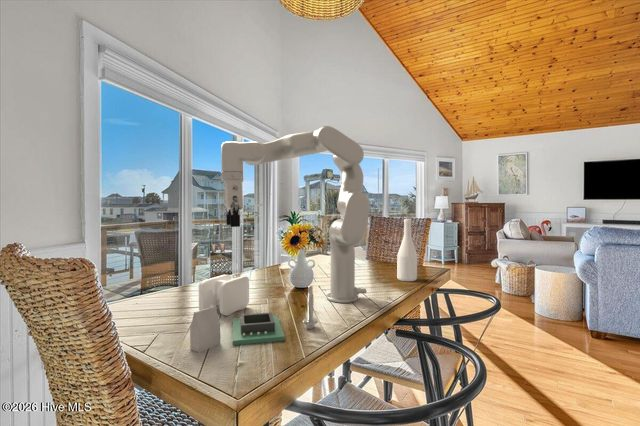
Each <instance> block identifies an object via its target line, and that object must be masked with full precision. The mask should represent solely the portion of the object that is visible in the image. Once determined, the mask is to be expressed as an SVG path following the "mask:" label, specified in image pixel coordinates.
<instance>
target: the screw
mask: <svg viewBox="0 0 640 426" xmlns="http://www.w3.org/2000/svg"><path fill="white" fill-rule="evenodd" d="M307 287H308V290H307V291H308V292H307V317H305V318H303V320H302V324H304V325H305V328H306V329H307V330H312V329H315V328H316V324H318V323H319V320H318V319H317V318H315V317H314V294H313V293H314V292H313V291H314V290H313V285H309V286H307Z"/></svg>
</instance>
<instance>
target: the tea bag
mask: <svg viewBox="0 0 640 426" xmlns="http://www.w3.org/2000/svg"><path fill="white" fill-rule="evenodd" d="M217 309H218V308H217ZM217 309H216V306H214V307H211V308H207V309H204V310H201V311H199V310H198V311H195V312H193V315H192V320H191V323H190V326H189V333H190V334H189V341H190V343H189V344H190V345H189V347H190V350H192V351H193V352H196V353H202V352H204V351H207V350H209V349H211V348H214V347H216V346H218V345H221V320H220V317H219V313H218V310H217Z"/></svg>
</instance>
